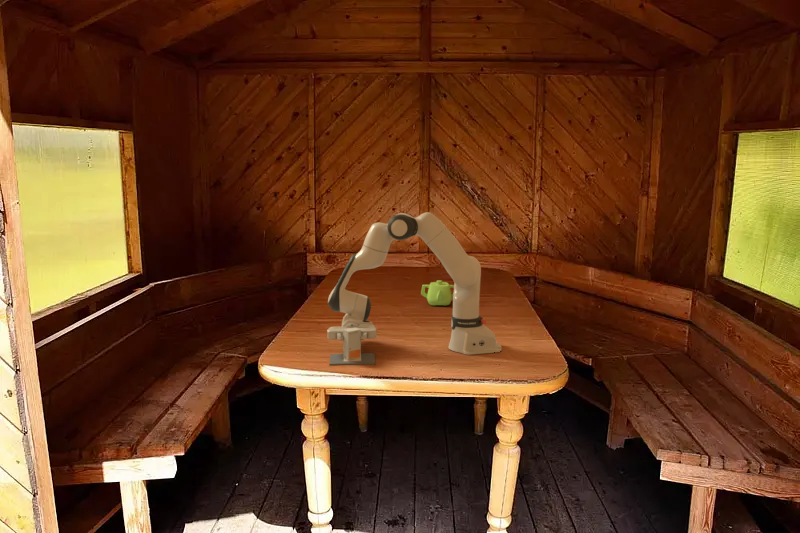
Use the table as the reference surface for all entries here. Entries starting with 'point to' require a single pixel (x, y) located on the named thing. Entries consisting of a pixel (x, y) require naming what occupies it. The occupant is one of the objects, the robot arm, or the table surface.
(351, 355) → the skincare box
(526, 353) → the table surface
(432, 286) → the teapot
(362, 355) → the rubber mat
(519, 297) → the table surface
